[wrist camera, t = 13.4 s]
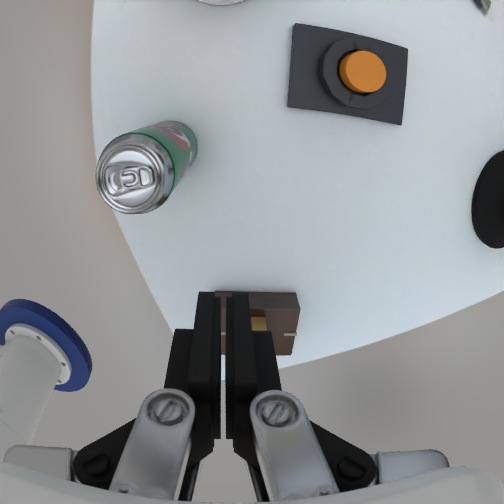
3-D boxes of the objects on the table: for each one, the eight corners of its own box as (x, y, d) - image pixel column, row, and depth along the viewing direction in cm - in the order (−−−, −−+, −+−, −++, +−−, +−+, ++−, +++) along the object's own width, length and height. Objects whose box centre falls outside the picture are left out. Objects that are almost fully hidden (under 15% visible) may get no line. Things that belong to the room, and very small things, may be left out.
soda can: (142, 124, 26) (83, 143, 15) (195, 117, 26) (165, 128, 15) (148, 176, 28) (99, 224, 17) (200, 170, 28) (177, 216, 17)
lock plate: (214, 337, 37) (213, 355, 35) (213, 290, 34) (212, 307, 31) (288, 338, 38) (292, 356, 35) (296, 292, 35) (301, 309, 32)
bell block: (287, 107, 26) (292, 107, 23) (292, 25, 22) (299, 17, 19) (396, 124, 26) (410, 127, 24) (402, 49, 23) (417, 46, 20)
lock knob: (248, 316, 32) (249, 347, 28) (265, 316, 32) (269, 348, 28) (245, 349, 34) (247, 381, 30) (261, 349, 35) (264, 381, 30)
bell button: (337, 88, 23) (344, 87, 21) (340, 49, 21) (347, 46, 19) (376, 96, 23) (384, 96, 21) (379, 58, 21) (387, 56, 20)
